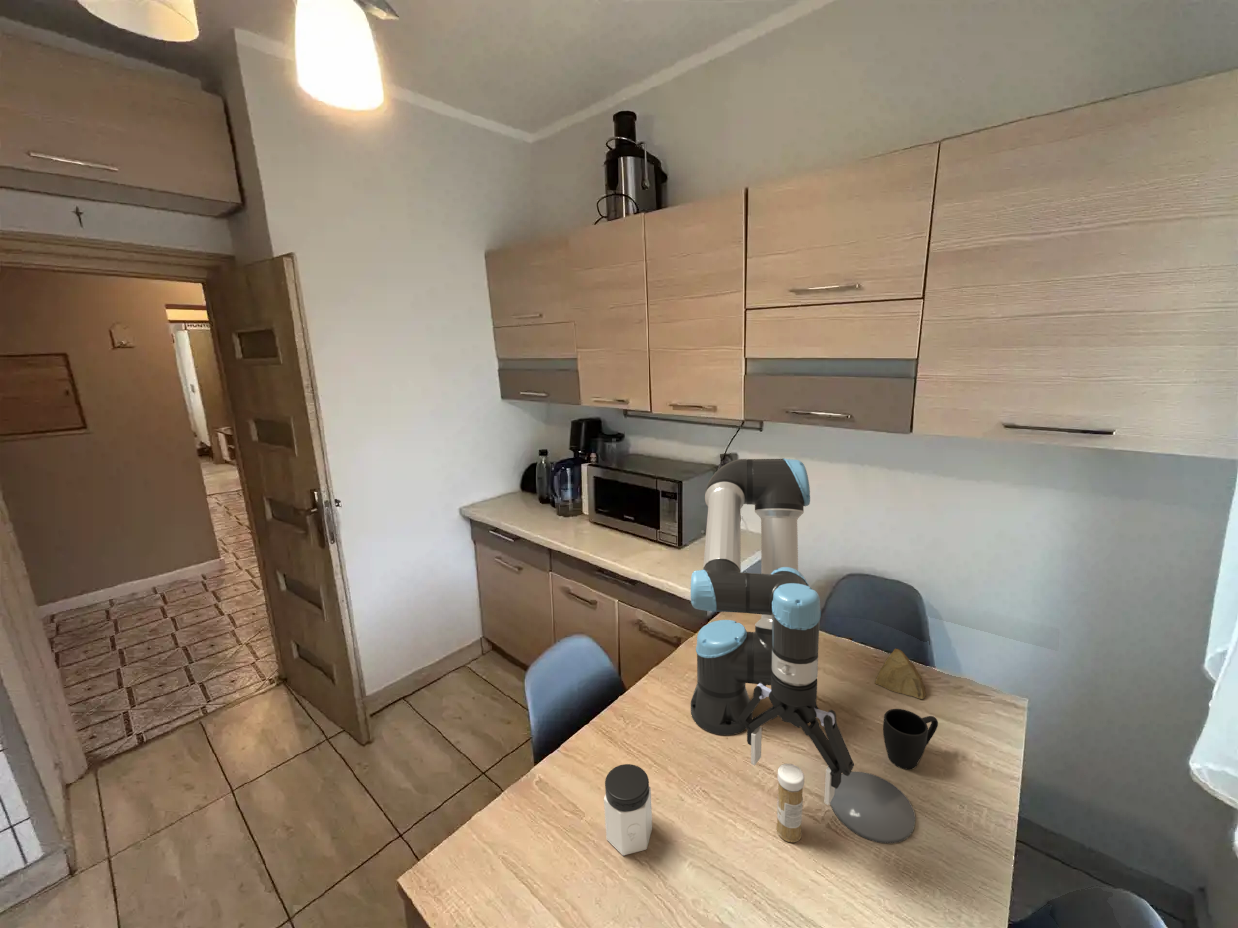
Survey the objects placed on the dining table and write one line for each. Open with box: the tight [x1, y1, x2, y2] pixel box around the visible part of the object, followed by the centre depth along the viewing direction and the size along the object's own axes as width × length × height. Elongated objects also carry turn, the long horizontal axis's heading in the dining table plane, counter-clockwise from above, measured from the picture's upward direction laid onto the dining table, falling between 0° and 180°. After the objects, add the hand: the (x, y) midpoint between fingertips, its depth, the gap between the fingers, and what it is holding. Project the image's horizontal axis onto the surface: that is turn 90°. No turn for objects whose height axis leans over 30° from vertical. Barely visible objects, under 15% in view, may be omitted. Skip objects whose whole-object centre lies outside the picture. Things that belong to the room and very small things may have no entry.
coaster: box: [829, 770, 916, 844], centre depth 99 cm, size 15×15×1 cm
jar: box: [603, 763, 653, 856], centre depth 94 cm, size 9×8×12 cm
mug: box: [882, 708, 939, 771], centre depth 109 cm, size 8×12×10 cm
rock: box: [874, 647, 927, 700], centre depth 130 cm, size 11×9×10 cm
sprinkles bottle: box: [775, 763, 805, 843], centre depth 93 cm, size 5×5×13 cm
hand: (790, 778), depth 91 cm, fingers open, 13 cm apart
